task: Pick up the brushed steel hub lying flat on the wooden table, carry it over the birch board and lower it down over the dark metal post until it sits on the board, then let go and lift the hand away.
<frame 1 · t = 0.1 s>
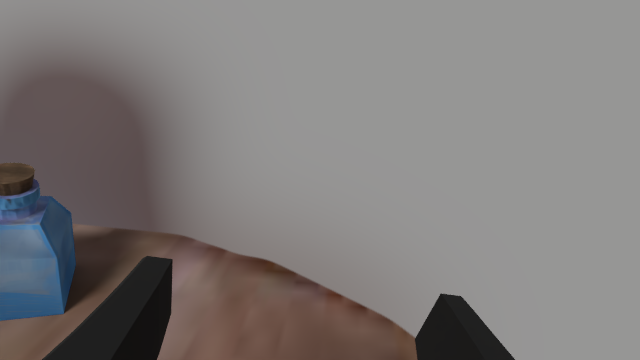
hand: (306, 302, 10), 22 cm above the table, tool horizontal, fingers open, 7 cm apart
perfume bottle: (29, 292, 34), on the table
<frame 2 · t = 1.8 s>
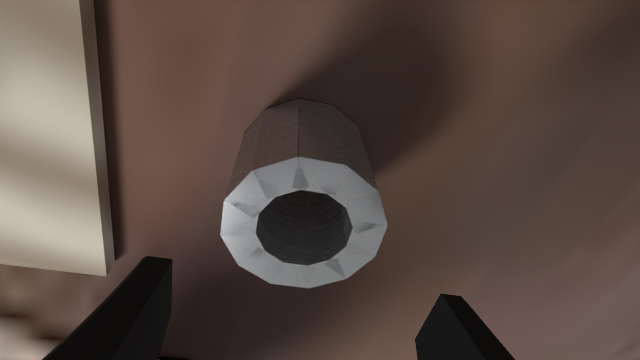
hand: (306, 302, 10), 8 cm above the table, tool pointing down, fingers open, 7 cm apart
steel hub: (303, 158, 17), on the table
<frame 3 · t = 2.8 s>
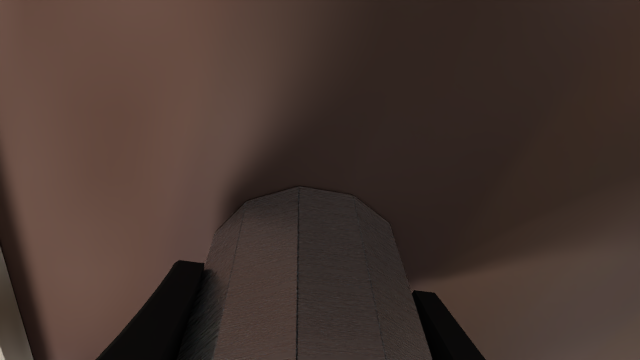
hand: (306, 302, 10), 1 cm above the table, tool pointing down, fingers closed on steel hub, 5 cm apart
steel hub: (305, 265, 11), on the table, touching gripper
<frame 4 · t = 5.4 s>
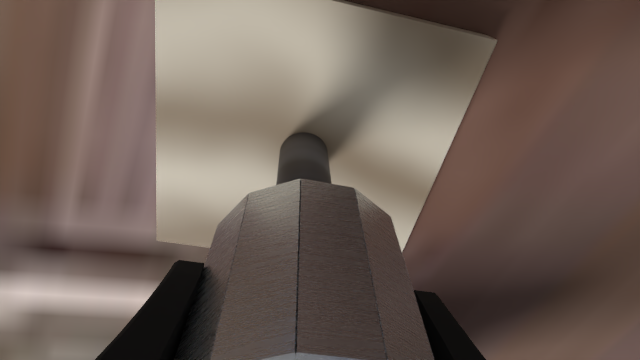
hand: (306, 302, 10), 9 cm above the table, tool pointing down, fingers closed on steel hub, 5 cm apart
steel hub: (307, 257, 11), point 8 cm above the table, touching gripper
post stand: (303, 144, 18), on the table
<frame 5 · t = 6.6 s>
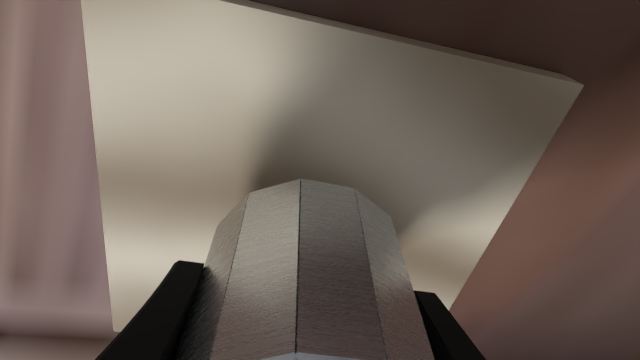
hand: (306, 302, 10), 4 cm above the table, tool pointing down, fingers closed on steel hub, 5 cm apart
steel hub: (307, 257, 11), point 2 cm above the table, touching gripper
post stand: (305, 212, 14), on the table
when the fingers open (3 cm above the table, at t = 7.8 s): steel hub stays where it is, resting on post stand.
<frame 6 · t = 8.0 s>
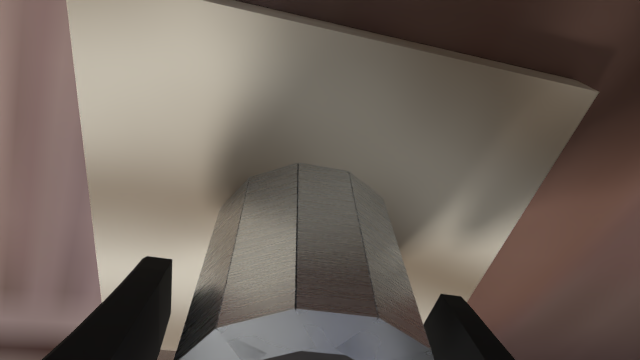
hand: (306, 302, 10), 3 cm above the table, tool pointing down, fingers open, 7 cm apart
steel hub: (304, 239, 12), point 1 cm above the table, touching post stand
post stand: (305, 223, 13), on the table
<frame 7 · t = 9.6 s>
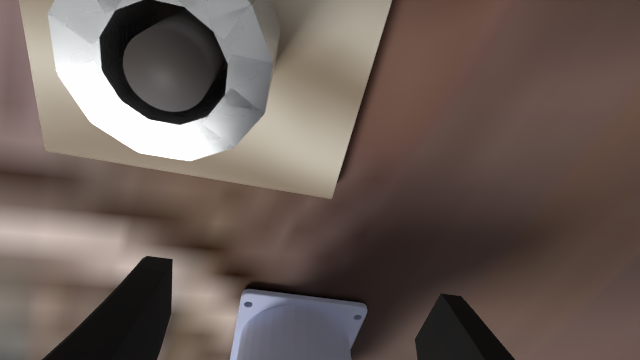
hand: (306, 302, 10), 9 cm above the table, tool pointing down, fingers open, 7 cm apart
steel hub: (205, 29, 14), point 1 cm above the table, touching post stand
post stand: (211, 27, 15), on the table
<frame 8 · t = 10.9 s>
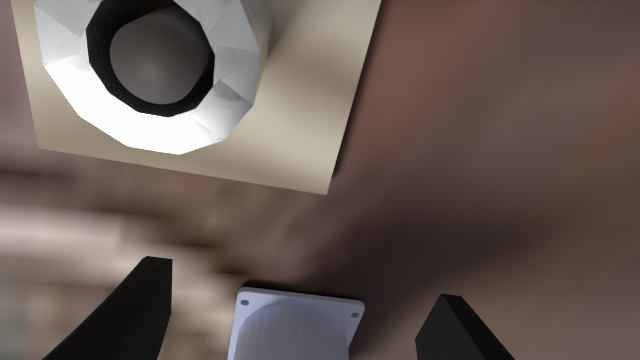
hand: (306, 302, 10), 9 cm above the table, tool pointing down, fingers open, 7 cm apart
steel hub: (196, 23, 14), point 1 cm above the table, touching post stand
post stand: (203, 23, 15), on the table
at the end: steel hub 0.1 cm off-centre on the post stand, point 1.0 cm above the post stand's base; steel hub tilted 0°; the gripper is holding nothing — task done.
